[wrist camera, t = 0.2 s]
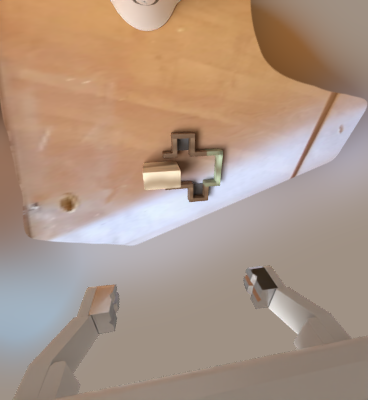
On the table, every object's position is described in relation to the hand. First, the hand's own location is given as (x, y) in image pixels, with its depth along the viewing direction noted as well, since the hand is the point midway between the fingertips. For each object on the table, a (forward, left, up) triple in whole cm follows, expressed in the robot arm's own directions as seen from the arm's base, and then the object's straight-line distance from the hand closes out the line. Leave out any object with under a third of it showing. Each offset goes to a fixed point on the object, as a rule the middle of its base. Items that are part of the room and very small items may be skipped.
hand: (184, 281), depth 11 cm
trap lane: (+9, +11, -48) cm, 50 cm away
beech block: (+9, +1, -48) cm, 49 cm away
